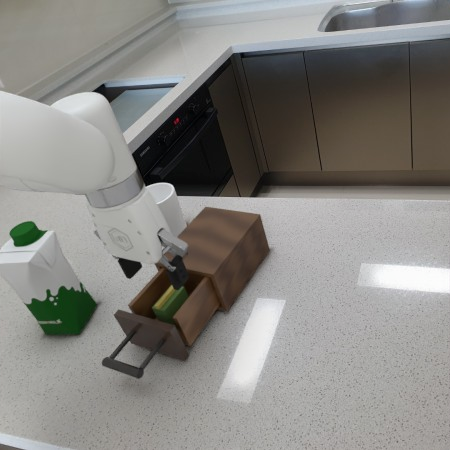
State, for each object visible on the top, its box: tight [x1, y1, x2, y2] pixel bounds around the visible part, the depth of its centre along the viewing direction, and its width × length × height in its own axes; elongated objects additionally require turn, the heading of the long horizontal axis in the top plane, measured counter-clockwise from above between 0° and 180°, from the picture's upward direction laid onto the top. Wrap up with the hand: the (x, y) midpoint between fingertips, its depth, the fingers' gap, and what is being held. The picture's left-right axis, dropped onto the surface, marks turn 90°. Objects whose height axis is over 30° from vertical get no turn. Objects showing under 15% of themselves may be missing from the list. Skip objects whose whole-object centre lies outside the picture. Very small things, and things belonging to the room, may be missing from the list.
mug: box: [145, 182, 188, 237], centre depth 100 cm, size 11×9×10 cm
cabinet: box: [154, 206, 271, 312], centre depth 86 cm, size 17×13×9 cm
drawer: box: [101, 267, 221, 380], centre depth 75 cm, size 22×11×7 cm, turn 156°
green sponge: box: [152, 285, 189, 329], centre depth 76 cm, size 3×6×6 cm, turn 156°
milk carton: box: [0, 220, 98, 336], centre depth 79 cm, size 9×9×20 cm
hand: (158, 278), depth 72 cm, fingers open, 9 cm apart
